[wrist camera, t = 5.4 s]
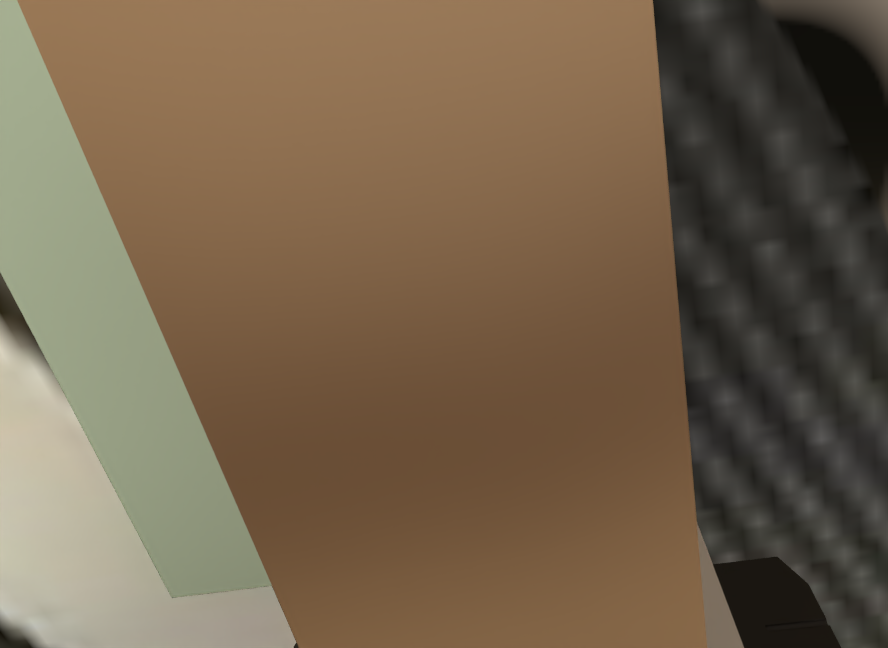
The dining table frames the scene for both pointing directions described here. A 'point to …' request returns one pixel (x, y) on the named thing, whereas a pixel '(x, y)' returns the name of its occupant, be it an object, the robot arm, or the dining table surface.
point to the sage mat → (107, 336)
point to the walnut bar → (412, 300)
